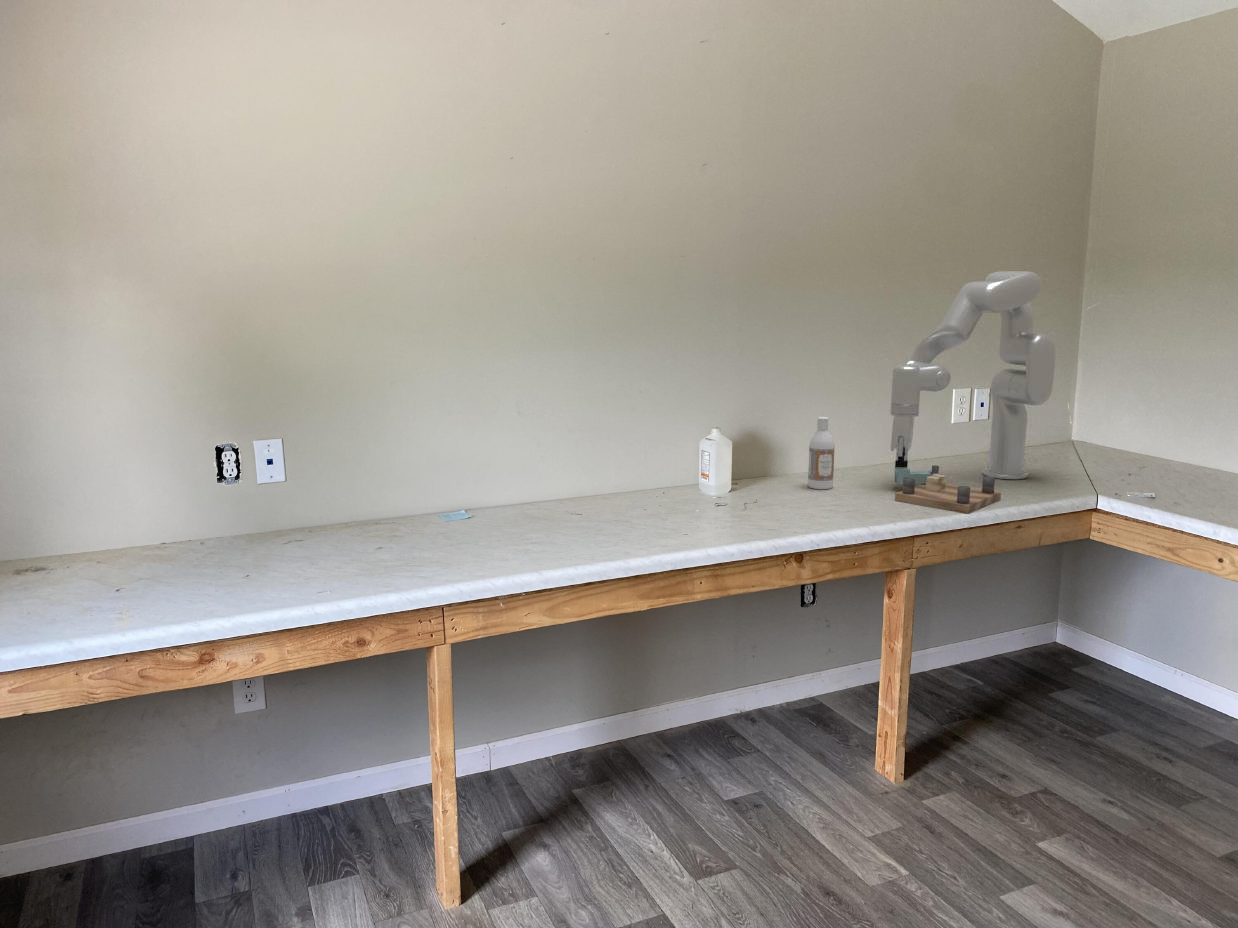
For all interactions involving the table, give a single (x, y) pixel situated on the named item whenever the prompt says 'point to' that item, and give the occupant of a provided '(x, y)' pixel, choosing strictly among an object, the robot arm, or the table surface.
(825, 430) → the bath foam
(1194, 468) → the table surface
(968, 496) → the stool seat
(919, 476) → the leg
